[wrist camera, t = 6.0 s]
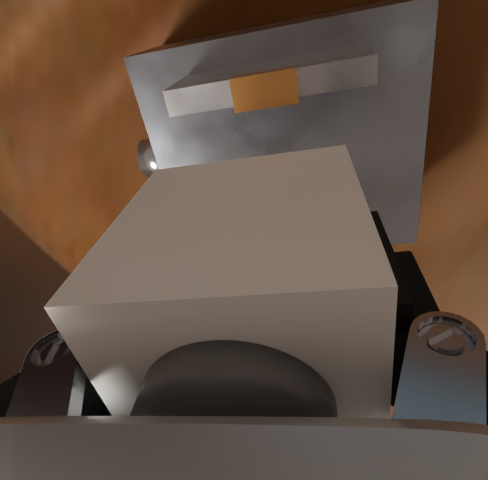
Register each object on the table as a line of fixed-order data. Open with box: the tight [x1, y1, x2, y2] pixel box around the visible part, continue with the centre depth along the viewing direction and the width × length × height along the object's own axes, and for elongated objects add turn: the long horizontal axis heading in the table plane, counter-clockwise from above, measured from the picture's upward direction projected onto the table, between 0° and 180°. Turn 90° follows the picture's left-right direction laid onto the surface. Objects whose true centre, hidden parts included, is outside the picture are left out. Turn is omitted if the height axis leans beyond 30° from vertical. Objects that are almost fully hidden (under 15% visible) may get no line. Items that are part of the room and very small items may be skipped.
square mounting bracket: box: [124, 0, 439, 244], centre depth 20 cm, size 16×12×11 cm
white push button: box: [44, 145, 398, 418], centre depth 10 cm, size 6×6×7 cm
